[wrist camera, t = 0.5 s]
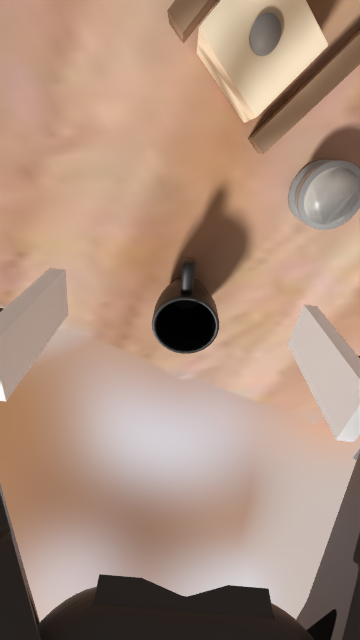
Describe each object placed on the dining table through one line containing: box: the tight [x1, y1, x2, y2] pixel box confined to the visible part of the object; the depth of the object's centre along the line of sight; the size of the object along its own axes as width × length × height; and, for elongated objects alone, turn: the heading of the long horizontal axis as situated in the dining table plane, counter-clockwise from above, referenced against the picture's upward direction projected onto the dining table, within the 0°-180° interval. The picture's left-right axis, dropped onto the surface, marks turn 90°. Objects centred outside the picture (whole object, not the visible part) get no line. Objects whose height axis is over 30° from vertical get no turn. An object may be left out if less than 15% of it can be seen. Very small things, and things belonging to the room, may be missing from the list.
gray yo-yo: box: [288, 159, 360, 230], centre depth 34 cm, size 7×7×4 cm
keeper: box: [197, 0, 328, 123], centre depth 26 cm, size 8×7×8 cm
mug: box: [152, 257, 219, 354], centre depth 38 cm, size 8×12×10 cm
